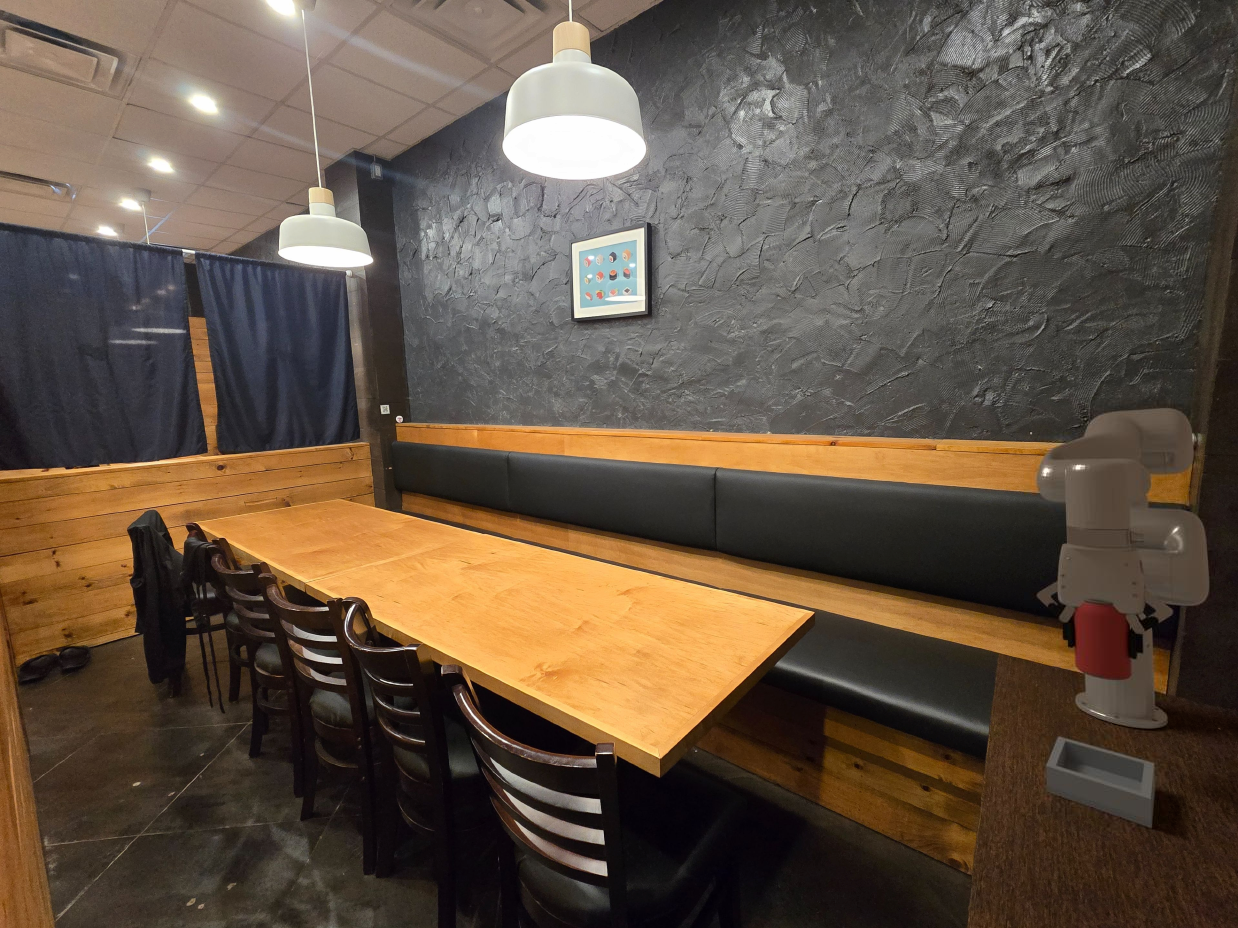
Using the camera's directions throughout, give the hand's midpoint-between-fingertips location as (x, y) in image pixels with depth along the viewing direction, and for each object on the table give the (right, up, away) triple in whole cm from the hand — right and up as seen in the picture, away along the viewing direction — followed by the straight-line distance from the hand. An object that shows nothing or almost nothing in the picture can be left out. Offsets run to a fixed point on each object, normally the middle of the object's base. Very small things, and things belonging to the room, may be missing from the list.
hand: (1101, 649), depth 83 cm
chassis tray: (-5, -19, -5) cm, 20 cm away
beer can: (0, -4, 0) cm, 4 cm away
